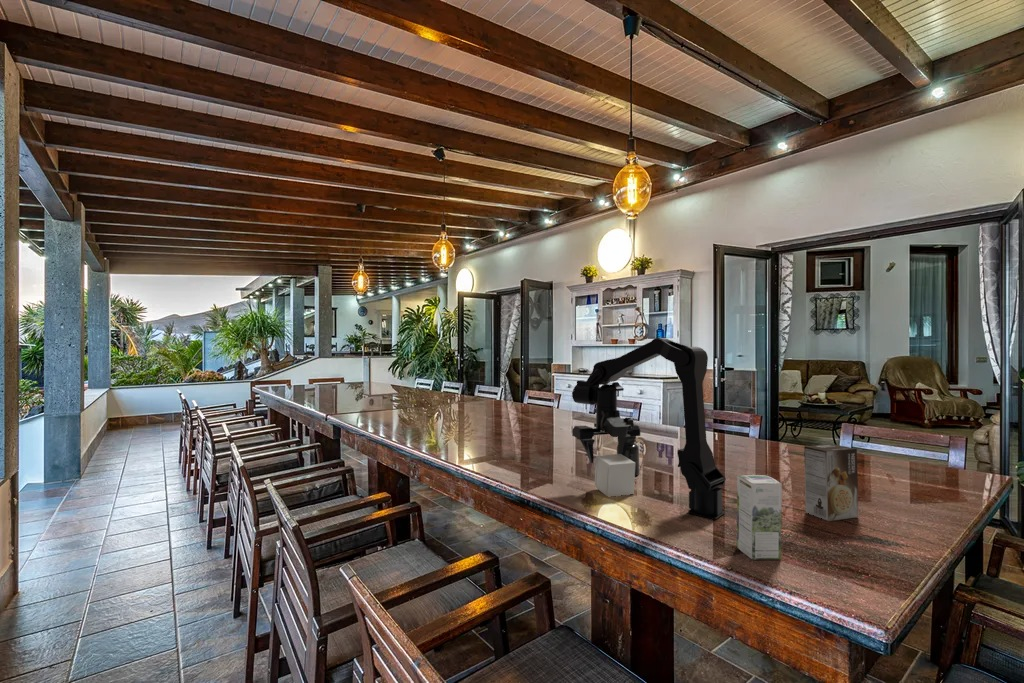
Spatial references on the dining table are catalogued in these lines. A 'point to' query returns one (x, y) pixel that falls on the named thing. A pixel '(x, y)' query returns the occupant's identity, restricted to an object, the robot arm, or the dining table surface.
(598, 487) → the gray cube
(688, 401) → the robot arm
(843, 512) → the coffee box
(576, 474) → the dining table surface
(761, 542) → the syrup box
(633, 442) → the supplement bottle
